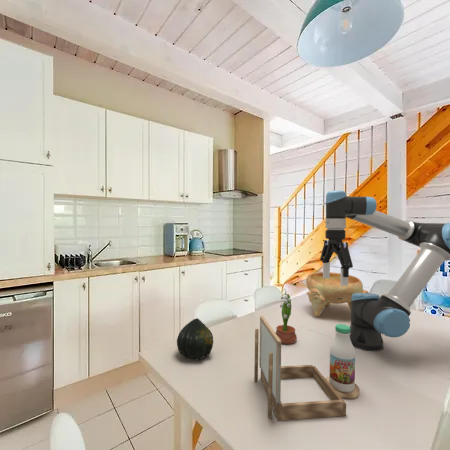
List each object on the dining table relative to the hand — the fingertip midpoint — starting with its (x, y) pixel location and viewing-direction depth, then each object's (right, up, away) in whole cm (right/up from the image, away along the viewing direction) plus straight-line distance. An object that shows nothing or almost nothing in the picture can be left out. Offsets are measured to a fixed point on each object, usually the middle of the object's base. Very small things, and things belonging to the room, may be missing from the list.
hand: (334, 281), depth 108 cm
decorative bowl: (+20, -32, +56) cm, 68 cm away
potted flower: (-16, -32, +16) cm, 39 cm away
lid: (-31, -27, -24) cm, 48 cm away
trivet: (-6, -32, -19) cm, 38 cm away
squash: (-57, -31, +2) cm, 65 cm away
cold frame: (-21, -31, -23) cm, 44 cm away
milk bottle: (-6, -31, -20) cm, 37 cm away
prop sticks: (-33, -31, -24) cm, 52 cm away
